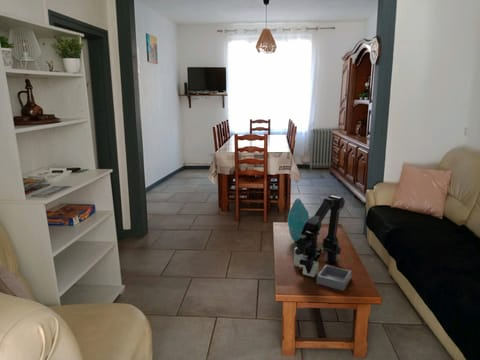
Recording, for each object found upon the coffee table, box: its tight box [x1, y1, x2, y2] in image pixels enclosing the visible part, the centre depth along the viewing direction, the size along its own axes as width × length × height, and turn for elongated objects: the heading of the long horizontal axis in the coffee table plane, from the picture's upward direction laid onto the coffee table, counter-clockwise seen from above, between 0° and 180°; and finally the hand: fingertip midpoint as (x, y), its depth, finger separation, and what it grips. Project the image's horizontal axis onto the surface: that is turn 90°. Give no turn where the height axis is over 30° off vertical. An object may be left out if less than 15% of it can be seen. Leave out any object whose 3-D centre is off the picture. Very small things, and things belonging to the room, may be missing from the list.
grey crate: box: [316, 264, 352, 292], centre depth 188 cm, size 14×14×4 cm
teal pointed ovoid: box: [287, 197, 310, 243], centre depth 233 cm, size 12×14×30 cm
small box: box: [293, 246, 307, 267], centre depth 206 cm, size 8×6×10 cm
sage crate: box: [302, 261, 320, 278], centre depth 194 cm, size 6×6×6 cm
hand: (310, 270), depth 194 cm, fingers closed on sage crate, 6 cm apart
